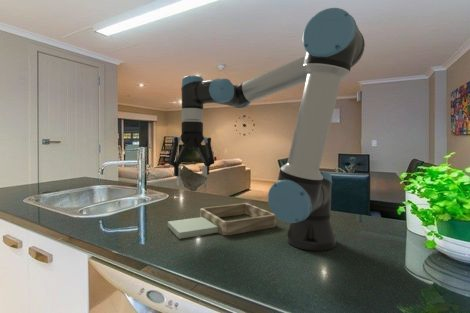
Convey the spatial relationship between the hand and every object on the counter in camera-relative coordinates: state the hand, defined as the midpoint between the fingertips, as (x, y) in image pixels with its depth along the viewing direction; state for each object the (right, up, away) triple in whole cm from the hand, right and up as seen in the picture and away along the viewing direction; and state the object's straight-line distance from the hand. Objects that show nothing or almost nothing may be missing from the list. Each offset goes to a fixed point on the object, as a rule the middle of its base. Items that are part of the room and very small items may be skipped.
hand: (192, 184), depth 98 cm
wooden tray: (+16, -16, +10) cm, 25 cm away
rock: (+2, -1, -3) cm, 3 cm away
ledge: (0, -16, +1) cm, 16 cm away
